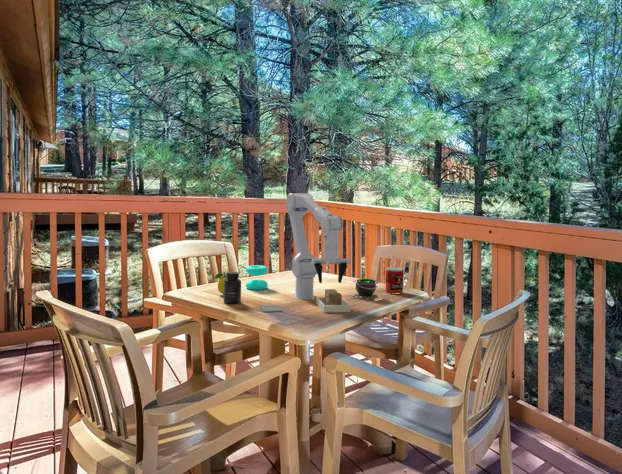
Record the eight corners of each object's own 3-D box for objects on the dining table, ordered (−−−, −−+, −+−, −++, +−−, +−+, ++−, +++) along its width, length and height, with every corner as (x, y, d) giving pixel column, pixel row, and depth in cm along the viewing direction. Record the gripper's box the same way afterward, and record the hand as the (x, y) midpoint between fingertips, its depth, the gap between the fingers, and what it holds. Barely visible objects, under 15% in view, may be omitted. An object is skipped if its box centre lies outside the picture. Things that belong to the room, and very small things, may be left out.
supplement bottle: (228, 305, 194) (228, 274, 193) (220, 301, 200) (220, 272, 199) (244, 303, 198) (244, 273, 197) (236, 299, 204) (236, 270, 203)
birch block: (324, 304, 198) (325, 289, 197) (334, 304, 198) (334, 289, 198) (326, 306, 194) (327, 291, 193) (336, 306, 194) (337, 291, 194)
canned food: (391, 295, 220) (392, 270, 219) (381, 291, 227) (382, 267, 226) (406, 294, 223) (407, 269, 222) (396, 290, 230) (397, 266, 229)
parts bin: (315, 304, 199) (316, 297, 198) (340, 304, 201) (341, 296, 200) (323, 313, 185) (323, 305, 185) (350, 313, 187) (350, 305, 187)
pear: (214, 294, 213) (214, 270, 212) (227, 292, 217) (227, 269, 216) (220, 297, 208) (220, 273, 207) (233, 295, 211) (233, 272, 210)
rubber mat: (260, 306, 194) (260, 305, 194) (283, 305, 196) (283, 304, 196) (263, 312, 185) (263, 311, 185) (287, 311, 187) (287, 310, 187)
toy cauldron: (363, 304, 203) (364, 277, 202) (340, 296, 215) (341, 271, 214) (390, 299, 211) (391, 273, 210) (366, 293, 224) (367, 268, 222)
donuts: (253, 269, 220) (241, 265, 227) (253, 291, 221) (241, 287, 228) (272, 267, 226) (259, 264, 234) (272, 288, 227) (259, 285, 235)
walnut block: (328, 308, 191) (328, 292, 191) (338, 308, 192) (339, 292, 191) (330, 311, 187) (331, 295, 187) (341, 310, 188) (341, 295, 187)
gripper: (314, 248, 187) (313, 284, 189) (352, 248, 190) (350, 284, 191) (311, 246, 194) (310, 281, 195) (347, 246, 197) (346, 280, 198)
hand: (330, 282), depth 194 cm, fingers open, 7 cm apart
